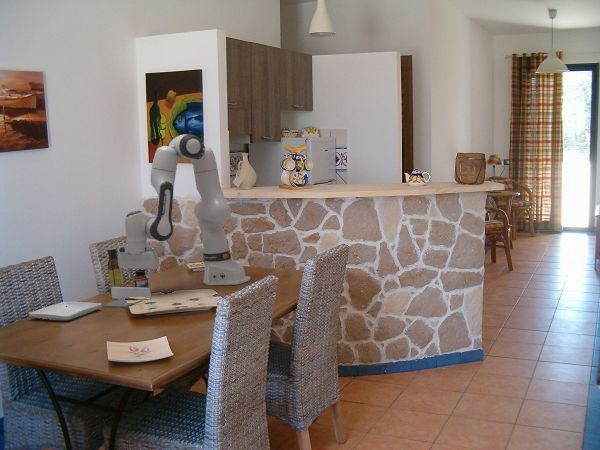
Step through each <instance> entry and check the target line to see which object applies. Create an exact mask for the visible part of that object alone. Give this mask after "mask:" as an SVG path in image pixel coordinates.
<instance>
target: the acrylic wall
mask: <svg viewBox="0 0 600 450" xmlns="http://www.w3.org/2000/svg"><path fill="white" fill-rule="evenodd" d="M110 291H111V298H112V299H116V300H118V299H125V298H129V297H145V298H151V299H152V297H151V296H152V295H151V287H149V288H139V287H135V286H134V287H131V286H130V287H129V286H124V287H111V286H110Z"/></svg>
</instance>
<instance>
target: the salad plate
mask: <svg viewBox="0 0 600 450" xmlns="http://www.w3.org/2000/svg"><path fill="white" fill-rule="evenodd" d="M102 304H103V303H101V302H100V303H99V302H83V301H63V302H59V303H58V302H57V303H55V304H52V305H49V306H45V307H43V308H40V309H36V310H34V311H31V312H28V315H29V316H31V317H32V318H36V319H40V318H42V319H41V320H44V319H49V320H48V321H60V322H61V321H62V322H63V321H71V320H75V319H77V318H79V317H82V316H85V315H88V314H91V313H92V312H94V311H97V310H98V309H99V308H100V307H102ZM66 306H67V307H66Z"/></svg>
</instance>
